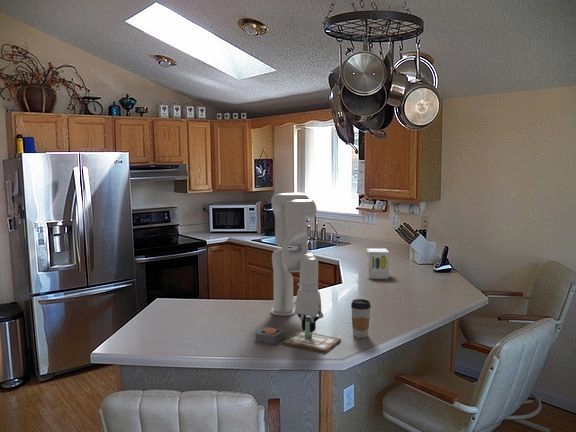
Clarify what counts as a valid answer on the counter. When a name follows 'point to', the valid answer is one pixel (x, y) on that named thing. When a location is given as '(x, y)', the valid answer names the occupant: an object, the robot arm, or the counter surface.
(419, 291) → the counter surface
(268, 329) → the button
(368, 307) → the coffee cup
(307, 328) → the sage green marker
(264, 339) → the button housing
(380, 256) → the supplement box
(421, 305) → the counter surface
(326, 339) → the drawing board
